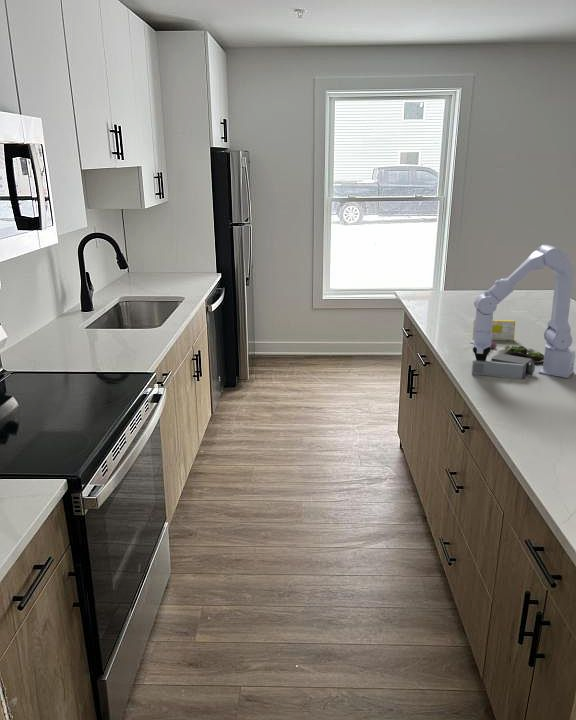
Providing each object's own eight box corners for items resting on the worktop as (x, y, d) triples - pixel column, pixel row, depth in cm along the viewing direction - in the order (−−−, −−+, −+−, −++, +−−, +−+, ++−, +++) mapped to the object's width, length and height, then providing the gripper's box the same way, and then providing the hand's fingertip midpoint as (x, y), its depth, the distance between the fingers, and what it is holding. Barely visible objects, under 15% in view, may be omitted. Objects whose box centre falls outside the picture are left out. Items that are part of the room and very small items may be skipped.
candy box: (513, 339, 243) (515, 320, 241) (513, 341, 242) (515, 321, 239) (472, 338, 248) (473, 318, 245) (472, 339, 246) (473, 320, 243)
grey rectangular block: (536, 373, 204) (537, 359, 203) (529, 379, 199) (531, 365, 197) (497, 366, 212) (498, 353, 211) (490, 371, 207) (491, 358, 206)
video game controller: (487, 350, 236) (480, 334, 236) (498, 347, 233) (491, 330, 233) (477, 356, 229) (471, 340, 229) (488, 353, 226) (481, 336, 225)
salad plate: (485, 351, 231) (486, 340, 229) (530, 349, 231) (531, 338, 230) (505, 367, 212) (506, 355, 211) (554, 365, 213) (555, 353, 211)
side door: (524, 377, 200) (526, 364, 198) (524, 379, 198) (526, 366, 197) (472, 372, 206) (473, 359, 205) (471, 374, 205) (472, 361, 203)
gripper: (473, 323, 209) (471, 360, 214) (468, 334, 197) (465, 372, 201) (494, 325, 207) (491, 362, 211) (490, 336, 194) (487, 375, 198)
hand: (480, 367), depth 206 cm, fingers closed
